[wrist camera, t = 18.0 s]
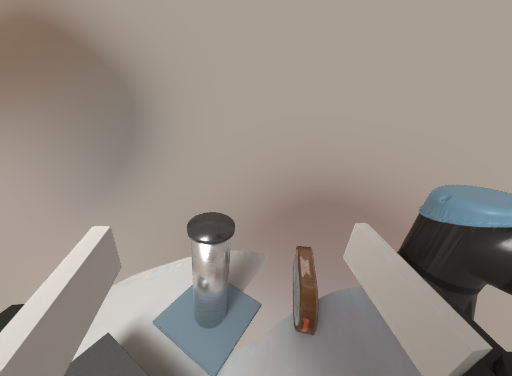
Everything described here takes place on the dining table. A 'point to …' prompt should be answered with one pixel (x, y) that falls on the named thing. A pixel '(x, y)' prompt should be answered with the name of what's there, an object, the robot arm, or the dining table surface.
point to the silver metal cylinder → (210, 266)
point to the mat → (207, 339)
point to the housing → (104, 361)
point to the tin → (305, 291)
